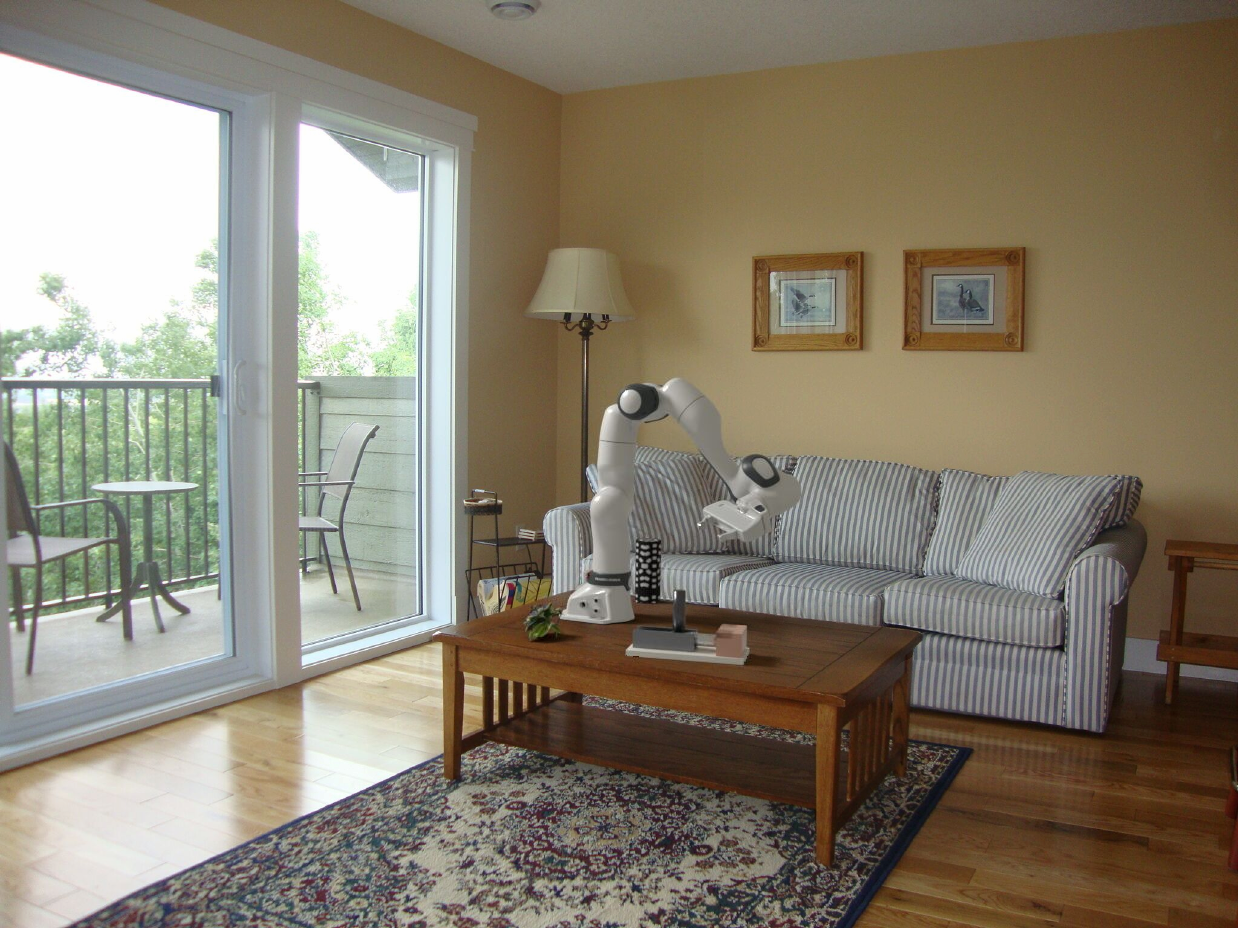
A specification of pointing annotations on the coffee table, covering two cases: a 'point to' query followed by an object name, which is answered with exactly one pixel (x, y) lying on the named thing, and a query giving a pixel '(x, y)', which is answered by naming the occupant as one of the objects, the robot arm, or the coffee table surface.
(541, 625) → the passion flower
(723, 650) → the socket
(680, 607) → the slide bolt
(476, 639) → the coffee table surface
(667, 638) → the grey guide channel
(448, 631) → the coffee table surface
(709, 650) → the base board
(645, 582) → the white-spotted black cylinder
